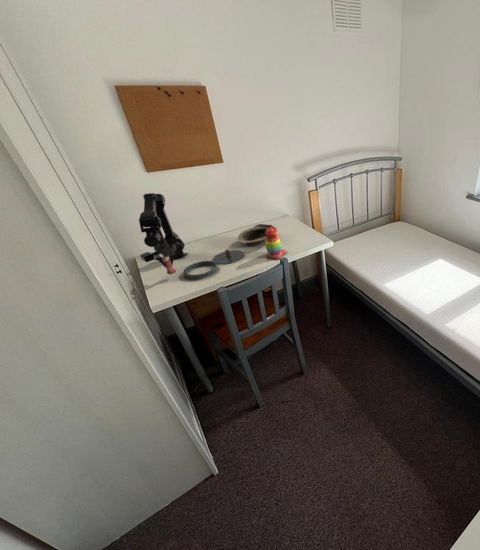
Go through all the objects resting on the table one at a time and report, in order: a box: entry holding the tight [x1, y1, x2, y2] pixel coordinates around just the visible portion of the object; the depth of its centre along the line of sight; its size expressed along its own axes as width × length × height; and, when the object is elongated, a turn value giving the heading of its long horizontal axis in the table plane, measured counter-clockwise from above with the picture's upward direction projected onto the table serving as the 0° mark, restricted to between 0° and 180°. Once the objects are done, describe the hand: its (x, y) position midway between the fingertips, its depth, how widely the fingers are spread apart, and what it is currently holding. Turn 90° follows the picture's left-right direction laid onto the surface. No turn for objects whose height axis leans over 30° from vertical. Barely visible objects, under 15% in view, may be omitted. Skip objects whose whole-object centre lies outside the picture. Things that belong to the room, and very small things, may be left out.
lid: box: [212, 248, 245, 265], centre depth 177 cm, size 18×18×6 cm
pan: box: [183, 260, 219, 281], centre depth 163 cm, size 17×17×3 cm
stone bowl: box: [237, 223, 278, 247], centre depth 195 cm, size 25×25×9 cm
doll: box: [161, 255, 177, 275], centre depth 154 cm, size 4×4×10 cm
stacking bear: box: [264, 227, 287, 260], centre depth 176 cm, size 11×10×18 cm
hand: (168, 265), depth 155 cm, fingers closed on doll, 3 cm apart
